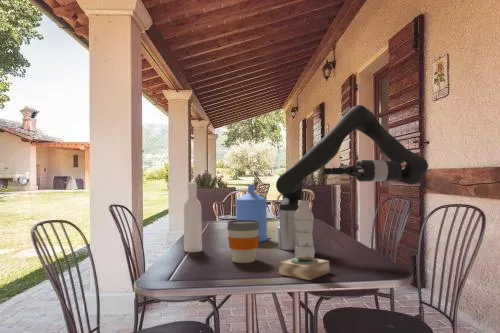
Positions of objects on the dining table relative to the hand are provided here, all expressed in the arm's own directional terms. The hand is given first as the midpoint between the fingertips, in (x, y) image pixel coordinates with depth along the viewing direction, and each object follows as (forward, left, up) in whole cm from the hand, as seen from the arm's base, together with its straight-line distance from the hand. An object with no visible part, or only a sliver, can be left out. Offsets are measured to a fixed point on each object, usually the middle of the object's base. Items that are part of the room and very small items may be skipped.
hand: (327, 171), depth 140 cm
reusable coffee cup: (-34, -7, -34) cm, 49 cm away
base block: (-4, -10, -34) cm, 36 cm away
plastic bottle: (-4, -9, -30) cm, 32 cm away
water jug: (-63, +31, -34) cm, 78 cm away
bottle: (-65, -6, -34) cm, 73 cm away
